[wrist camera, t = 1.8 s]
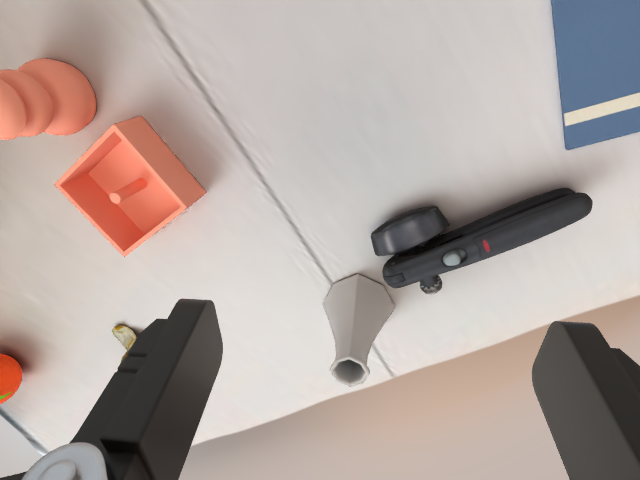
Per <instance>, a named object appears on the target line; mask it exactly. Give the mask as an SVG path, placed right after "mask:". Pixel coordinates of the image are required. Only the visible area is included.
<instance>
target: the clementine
mask: <svg viewBox="0 0 640 480" xmlns="http://www.w3.org/2000/svg"><path fill="white" fill-rule="evenodd" d="M21 381H22V370H21V367H20V365H19V363H18V362H17V361H16V360H15V359H14V358H12V357H10V356H8V355H4V354H0V404H1V403H3V402H5V401H6V400H8V399H9V398H10V397H12V396H13V395H14V393H15V392H16V391H17V390H18V388H19V386H20V384H21Z"/></svg>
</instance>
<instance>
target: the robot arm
mask: <svg viewBox="0 0 640 480" xmlns="http://www.w3.org/2000/svg"><path fill="white" fill-rule="evenodd" d="M222 353H223V343H222V338H221V333H220V329H219V324H218V319H217V315H216V310H215V306H214V303H213V302H212V301H211V300H197V299H180V300H179V301H178V302H177V303H176V305H175V307H174V308H173V310H172V312H171V314H170V315H169V317H168V319H156V320H155V321H154V322H153V323H152V324H150V325H149V326H148V327H147V328H146V329H145V330H143V331H142V332H141V333H140V334H139V335H138V337H137V338H136V340H135V341H134V343H133V345H132V346H131V348H130V349H129V351H128V355H127V357H124V359H123V361H122V362H121V364H120V365H119V367H118V371H117V372H115V373H114V375H113V377H112V378H111V380H110V381H109V383H108V385H107V386H106V388H105V389H104V391H103V393H102V394H101V396H100V397H99V399H98V401H97V402H96V404H95V405H94V407H93V409H92V410H91V412H90V413H89V415H88V417H87V418H86V420H85V421H84V423H83V425H82V426H81V428H80V429H79V431H78V433H77V434H76V435H75V437H74V438H73V440H72V441H71V442H70V443H69V444H67V445H64V446H61V447H59V448H57V449H55V450H53V451H51V452H49V453H48V454H46V455H45V456H43V457H42V458H41V459H40V460H38V461H37V462H36V463H35V464H34V465H33V466H32V467H31V468H30V469H29V470H28V471H27V472H23V473H20V474H16V475H12V476H7V477H3V478H0V480H178V479H179V476H180V473H181V471H182V468H183V465H184V463H185V460H186V457H187V454H188V452H189V449H190V446H191V444H192V441H193V438H194V436H195V433H196V430H197V427H198V425H199V422H200V419H201V417H202V414H203V411H204V408H205V406H206V403H207V400H208V398H209V395H210V392H211V390H212V387H213V384H214V381H215V379H216V376H217V373H218V371H219V368H220V365H221V360H222ZM532 381H533V387H534V390H535V393H536V396H537V398H538V401H539V403H540V406H541V408H542V411H543V413H544V416H545V418H546V421H547V423H548V426H549V428H550V431H551V433H552V436H553V438H554V441H555V443H556V446H557V449H558V451H559V454H560V456H561V459H562V461H563V464H564V466H565V469H566V471H567V473H568V476H569V479H570V480H640V366H639V365H638V364H637V363H635V362H634V361H633V360H632V359H631V358H630V357H629V356H627V355H626V354H625V353H624V352H623V351H621V350H620V349H616V348H610V346H609V345H608V343H607V342H606V340H605V339H604V337H603V335H602V334H601V332H600V331H599V329H598V328H597V327H596V326H595V325H593V324H591V323H578V322H560V321H555V322H553V323H552V324H551V325H550V327H549V329H548V331H547V334H546V336H545V338H544V341H543V343H542V345H541V348H540V350H539V352H538V355H537V357H536V359H535V362H534V364H533V370H532Z"/></svg>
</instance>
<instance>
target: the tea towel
mask: <svg viewBox="0 0 640 480" xmlns="http://www.w3.org/2000/svg"><path fill="white" fill-rule="evenodd" d="M551 2H552V12H553V23H554V33H555V43H556V54H557V64H558V74H559V85H560V95H561V105H562V116H563V126H564V136H565V147H566V150H570V149H574V148H578V147H582V146H586V145H590V144H594V143H597V142H601V141H605V140H609V139H613V138H617V137H621V136H625V135H628V134H632V133H636V132H640V0H551Z"/></svg>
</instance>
